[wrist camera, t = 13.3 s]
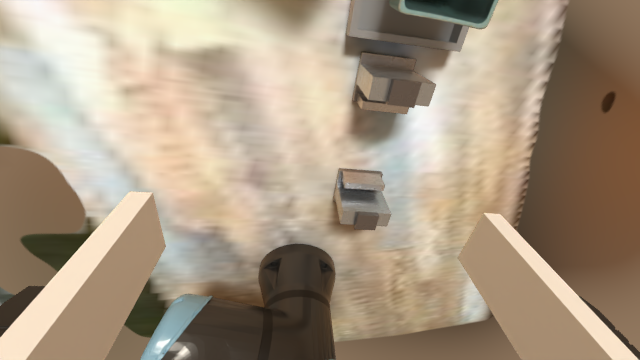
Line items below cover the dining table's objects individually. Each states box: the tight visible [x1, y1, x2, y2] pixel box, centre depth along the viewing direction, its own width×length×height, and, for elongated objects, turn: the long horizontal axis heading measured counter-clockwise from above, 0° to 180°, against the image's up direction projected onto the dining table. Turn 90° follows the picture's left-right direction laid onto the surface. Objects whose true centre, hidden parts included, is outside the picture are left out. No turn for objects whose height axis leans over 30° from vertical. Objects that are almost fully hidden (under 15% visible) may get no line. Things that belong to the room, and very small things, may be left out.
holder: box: [333, 52, 436, 230], centre depth 37 cm, size 23×7×9 cm, turn 173°
